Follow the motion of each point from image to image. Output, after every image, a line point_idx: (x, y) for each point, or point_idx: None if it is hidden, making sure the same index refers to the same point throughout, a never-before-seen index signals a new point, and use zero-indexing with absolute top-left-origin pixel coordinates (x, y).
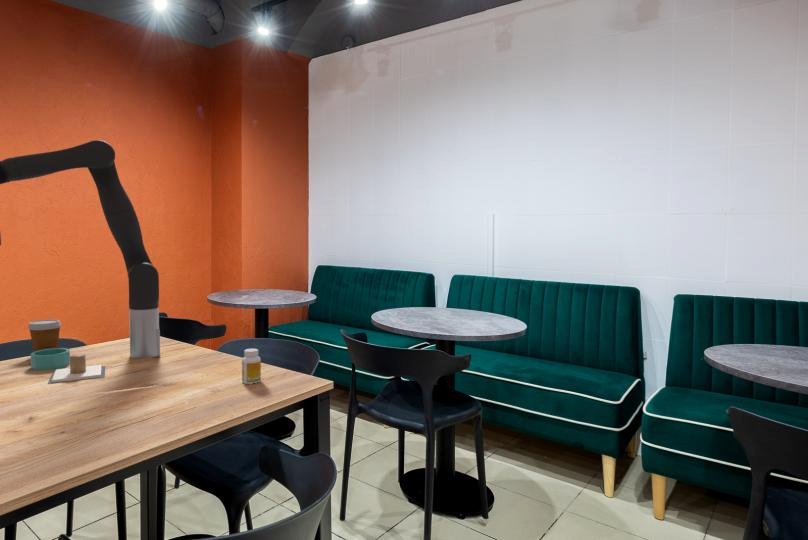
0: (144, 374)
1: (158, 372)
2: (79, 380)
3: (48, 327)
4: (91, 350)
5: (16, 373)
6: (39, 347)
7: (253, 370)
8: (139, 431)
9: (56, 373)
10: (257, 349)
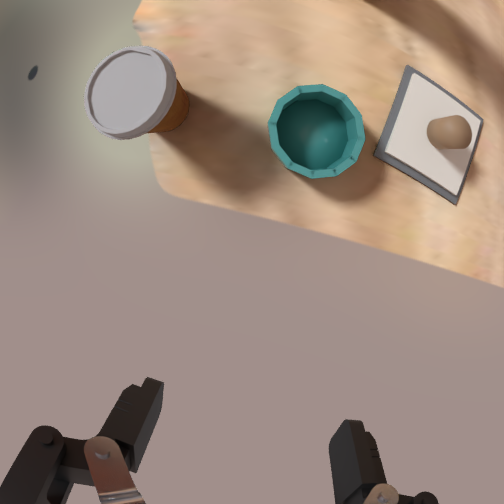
0: (491, 66)
1: (492, 47)
2: (472, 156)
3: (175, 87)
4: (197, 17)
5: (310, 209)
6: (174, 121)
7: None
8: None
9: (420, 167)
10: None
